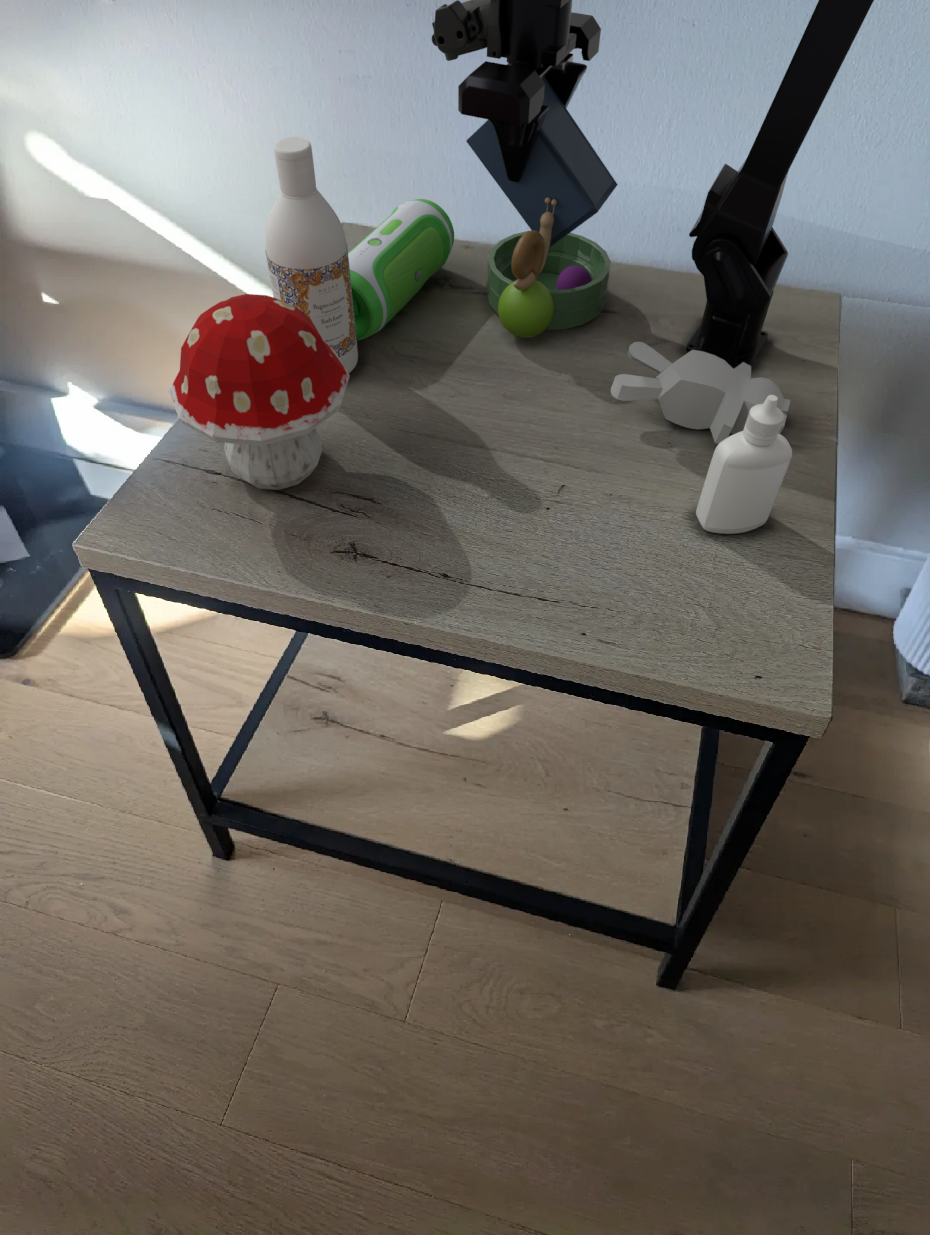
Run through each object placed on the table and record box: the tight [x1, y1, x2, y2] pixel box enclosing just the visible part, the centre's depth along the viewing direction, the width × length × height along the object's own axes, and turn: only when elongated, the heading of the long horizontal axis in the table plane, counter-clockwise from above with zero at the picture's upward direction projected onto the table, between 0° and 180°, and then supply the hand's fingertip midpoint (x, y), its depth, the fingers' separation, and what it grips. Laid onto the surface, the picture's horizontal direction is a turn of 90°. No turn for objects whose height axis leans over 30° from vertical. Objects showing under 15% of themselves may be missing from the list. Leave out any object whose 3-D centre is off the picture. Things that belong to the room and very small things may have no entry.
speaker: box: [348, 198, 455, 341], centre depth 87 cm, size 18×7×8 cm, turn 154°
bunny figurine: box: [610, 341, 791, 445], centre depth 77 cm, size 10×5×15 cm
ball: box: [557, 266, 592, 290], centre depth 88 cm, size 4×4×4 cm
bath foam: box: [264, 136, 359, 374], centre depth 75 cm, size 7×7×20 cm
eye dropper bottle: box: [695, 395, 793, 535], centre depth 66 cm, size 4×6×12 cm
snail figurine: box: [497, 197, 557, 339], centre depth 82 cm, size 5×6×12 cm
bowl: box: [486, 230, 612, 331], centre depth 89 cm, size 12×12×4 cm
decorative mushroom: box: [168, 293, 350, 491], centre depth 68 cm, size 14×14×15 cm
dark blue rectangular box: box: [465, 76, 618, 248], centre depth 80 cm, size 6×6×12 cm
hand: (526, 166), depth 81 cm, fingers closed on dark blue rectangular box, 6 cm apart
